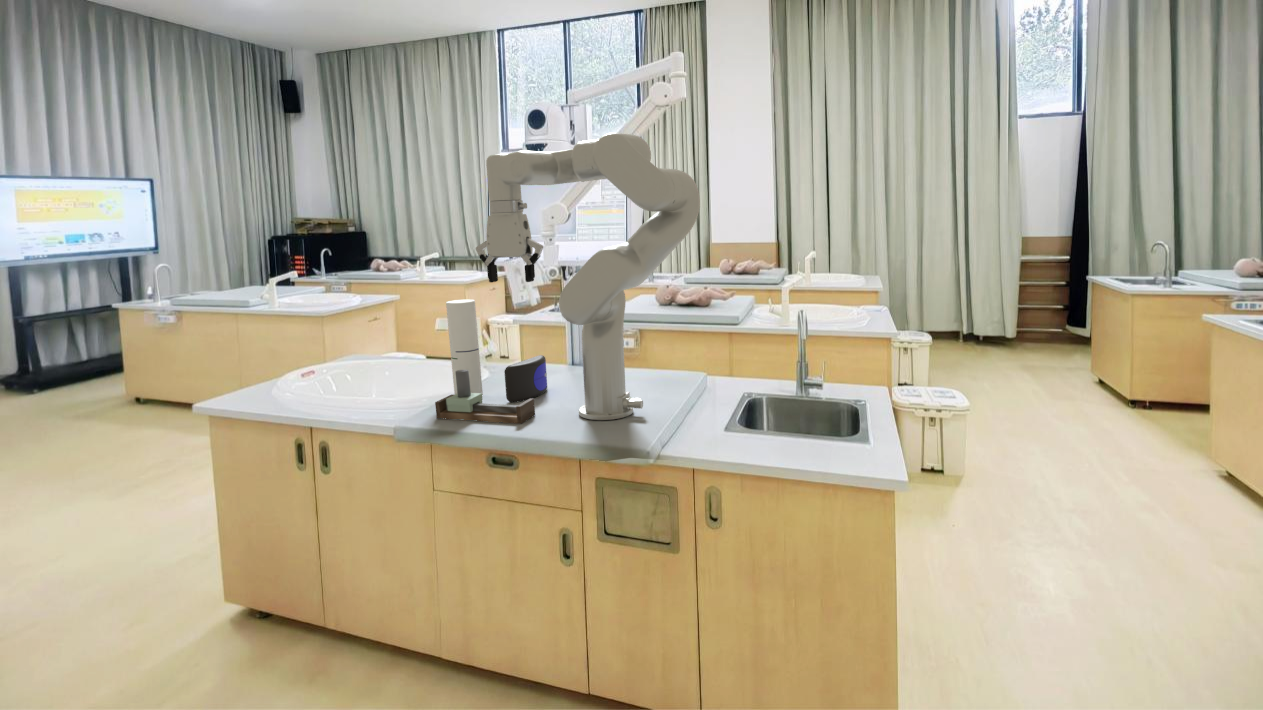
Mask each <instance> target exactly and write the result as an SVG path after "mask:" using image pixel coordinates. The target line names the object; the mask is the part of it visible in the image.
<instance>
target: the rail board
mask: <svg viewBox="0 0 1263 710" xmlns="http://www.w3.org/2000/svg"><path fill="white" fill-rule="evenodd" d="M453 395H454V394H450V395H448V396H446V397H443V398H441V399H439V400H437V401H435V402H434V404H435V414H436V415H435V416H436V419H437V418H442V419H441V420H450V419H464V420H463V421H466V420H477V421H476V422H483V421H488V422H487V423H499V422H503V424H516V425H517V424H519V425H520V424H521V425H522V424H524V423H526V422H527V421H528V420H530V419H531V418H533V417H534V415H535V416H536V408H535V398H530V399H528V400H524V401H522V402H521V403H519V404H503V403H502V404H501V403H483V402H482V403H475V404H473V411H472V412H456V411H448V408H447V403H446V399H447V398H449V397H451V396H453ZM532 416H533V417H532ZM443 418H444V419H443ZM445 418H446V419H445ZM529 418H530V419H529ZM526 420H527V421H526Z"/></svg>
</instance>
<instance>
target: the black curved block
mask: <svg viewBox="0 0 1263 710" xmlns="http://www.w3.org/2000/svg"><path fill="white" fill-rule="evenodd" d="M546 359H547V358H546V356H545V355H541V354H539V355H536V356H533V357H530V358H528V359H524V360H522V361H518V362H516V363H512V364H510V365H507V366H506V367H505V369H504V372H503V373H504V382H505V383H504V384H505V397H506V400H507V401H508V402H510V403H518V402H517V401H520V402H524V401H526V400H527V399H530V398H533V399H535V398H536V397H540V396H541V395H543V394H544V393H545V392H546V391H547V389H548V377H547V374H548V373H547V363H546V362H547V360H546ZM534 397H535V398H534ZM523 400H524V401H523Z"/></svg>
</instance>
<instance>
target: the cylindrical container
mask: <svg viewBox="0 0 1263 710" xmlns="http://www.w3.org/2000/svg"><path fill="white" fill-rule="evenodd" d="M445 304H446V305H445V307H446V317H447V318H446V319H447V327H448V340H449V349H450V350H449V351H450V359H451V371H452V380H453V383H452V384H453V392H454V394H453V395H455V394H457V383H456V371H458V370H469V381H470V392H471V393H482V395H483V396H484V392H483V391H484V390H483V381H482V370H481V368H482V367H481V358H480V357H481V356H480V355H481V354H480V348H479V347H480V346H479V335H478V333H479V332H478V323H477V311H476V300H475V299H453V300H449V301H446V302H445Z"/></svg>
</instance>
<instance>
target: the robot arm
mask: <svg viewBox="0 0 1263 710" xmlns="http://www.w3.org/2000/svg"><path fill="white" fill-rule="evenodd" d="M651 151H652V150H651V147H650V146H649V144H648V142H647V141H646V139H644V138H642V137H641V136H638V135H636V134H631V133H623V132H608V133H606V134H603V135H602V136H601V137H599V138H597V139H588V140H582V141H581V140H580V141H578V142H577V143H575V145H574V146H573V148H570V149H565V150H564V149H563V150H557V151H536V150H518V151H517V150H516V151H514V152H510V153H498V154H497V153H496V154H491V155H488V156H487V158H486V161H485V163H486V164H485V165H486V176H487V188H488V201H489V203H488V204H489V213H490V215H488V216H487V222H486V241H483V242H482V243H481V244H479V245H477V246H476V247H475V251H476V253H477V254H478V256H479V259H480V260H481V261H482V262H483V263H484V265H485V266H486V271H487V279H488V282H489V283H496V282H498V280H499V277H498V266H497V264H496V262H497V260H498V259H499V258H521V259H522V260H523V261H524V262H525V265H524V277H525V278H524V279H525V282H526V283H531V282H534V281H535V277H536V273H535V272H536V271H535V265H536V263H537V262H538V260H539V259H540V257H541V255H542V252H543V250H544V245H543V244H542V243H541V244H540V243H539V242H537V241H535V240H533V239H532V232H531V228H530V223H529V219H528V216H527V213H523V212H524V210H526V209H528V203H527V202H523V200H522V190H521V189H522V187H521V186H552V185H554V186H555V185H561V184H572V183H577V182H581V183H584V182H591V181H593V182H594V181H599V180H608V181H609V182H610V183H611V184H612V185H613V186H614V187H615V188H617V189H618V190H619V191H620V192H621V193H622V194H623V195H624V196H626V198H627V199H628V200H630V201H631V202H632V203H633V204H634V205H636V206H637V207H638V208H640V209H641V210H642V209H643V210H645V211H648V212H652V213H653V212H654V214H652V215H651V217H649V218H648V219H647V220H645V221H644V222H643V223H642V224H641V225H640V226H639V227H638V229H637V230H636V231H635V232H634V233H633V234H632V235H631V236H630V237H629V238H628V239H627V240H626V241H625V242H623V243H619V244H616V245H611V246H607V247H604V248H601V249H599V250H598V251H597V252H596V253H594V254H593V255H592V256H591V257H590V258H589V259H588V260H587V261H586V263H584V264H583V265H582V266H581V268H580V269H579V270H578V271H577V272H576V273H575V274H574V275H573V276H572V278H570V280H569V281H568V282H567V284H565V286H564V287H563V289H562V291H561V292H560V295H559V299H558V307H559V311H560V314H561V316H562V317H563V318H564V320H566V321H567V322H568V323H571V324H572V325H576V326H582V325H583V326H582V330H581V353H582V354H581V355H582V371H583V372H582V374H583V387H584V388H583V389H584V390H583V391H584V405H581V407H579V409H578V415H579V416H580V417H581V418H583V419H587V420H592V421H609V420H617V419H623V418H625V417H626V418H627V417H629V416H630V415H632V414H633V412H634V409H643V407H644V400H642V398H641V397H640V398H639V397H635V398H634V397H631V396H630V395H631V394H630V393H631V392H630V391H626V372H625V370H626V369H625V353H624V352H625V350H624V349H625V348H624V347H625V344H624V341H625V340H624V339H625V338H624V323H625V321H624V320H625V312H626V293H625V291H626V290H629V289H633V288H636V287H639V286H641V285H642V284H643V283H644V282H645V281H646V280H647V279H648V278H649V277H650V275H652V273H653V272H654V271H655V270H656V269H658V267H659V266H660V264H662V263H663V262H664V260H665V259H666V258H667V257H668V256H669V255H670V254H671V253H672V252H673V251H674V249H676V248H677V247H678V246H679V244H681V242H682V241H683V240H684V239H685V238H686V237H687V236H688V234H689V233H690V232H691V230H692V229H693V227H694V226H695V224H696V221H697V219H698V216H699V213H700V207H701V206H700V205H701V198H700V192H699V189H698V185H697V183H696V182H695V180H694V179H693V177H692V176H691V175H689V174H688V173H687V172H685V171H683V170H680V169H675V168H663V167H661V168H660V167H657V166H656V165H654V163H652V162H651V159H652V152H651ZM533 248H534V249H533ZM485 250H486V251H487V253H486V251H485ZM533 250H534V253H533Z"/></svg>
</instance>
